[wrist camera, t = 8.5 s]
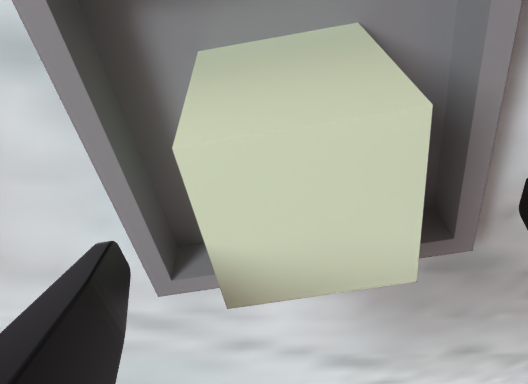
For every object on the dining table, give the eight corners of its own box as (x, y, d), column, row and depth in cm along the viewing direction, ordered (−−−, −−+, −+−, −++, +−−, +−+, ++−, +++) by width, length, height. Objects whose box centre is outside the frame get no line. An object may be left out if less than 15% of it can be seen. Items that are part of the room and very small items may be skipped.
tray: (446, 210, 18) (472, 250, 16) (167, 252, 19) (158, 296, 17) (496, -167, 10) (558, -181, 8) (28, -70, 11) (-19, -62, 9)
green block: (361, 159, 15) (416, 281, 11) (231, 180, 16) (227, 308, 11) (358, 22, 12) (432, 104, 8) (198, 51, 13) (172, 148, 8)
